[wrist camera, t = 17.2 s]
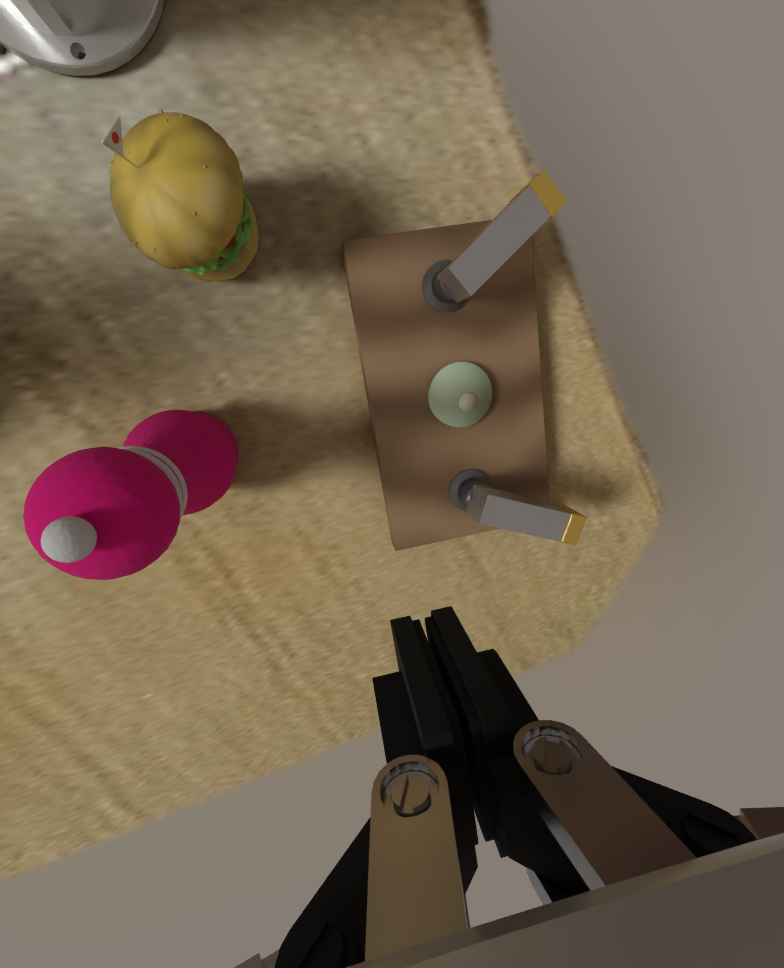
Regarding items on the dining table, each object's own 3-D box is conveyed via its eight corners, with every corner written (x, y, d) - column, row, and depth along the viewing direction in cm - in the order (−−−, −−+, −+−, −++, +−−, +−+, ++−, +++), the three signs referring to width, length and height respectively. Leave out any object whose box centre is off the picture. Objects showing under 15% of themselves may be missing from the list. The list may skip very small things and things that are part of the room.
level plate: (341, 247, 34) (343, 236, 31) (518, 223, 35) (536, 210, 32) (392, 542, 40) (397, 555, 37) (539, 510, 42) (556, 521, 39)
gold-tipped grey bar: (446, 310, 34) (470, 299, 28) (424, 284, 33) (445, 268, 28) (527, 228, 33) (566, 202, 28) (507, 201, 32) (543, 168, 27)
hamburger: (248, 306, 34) (212, 276, 22) (146, 270, 32) (50, 217, 21) (276, 198, 32) (251, 105, 21) (170, 154, 31) (81, 28, 19)
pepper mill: (263, 442, 36) (200, 527, 17) (210, 512, 37) (95, 666, 18) (182, 385, 34) (11, 408, 15) (129, 459, 35) (-98, 570, 16)
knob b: (453, 502, 37) (475, 524, 32) (462, 474, 37) (486, 492, 32) (541, 522, 39) (575, 546, 34) (550, 496, 39) (587, 516, 33)
